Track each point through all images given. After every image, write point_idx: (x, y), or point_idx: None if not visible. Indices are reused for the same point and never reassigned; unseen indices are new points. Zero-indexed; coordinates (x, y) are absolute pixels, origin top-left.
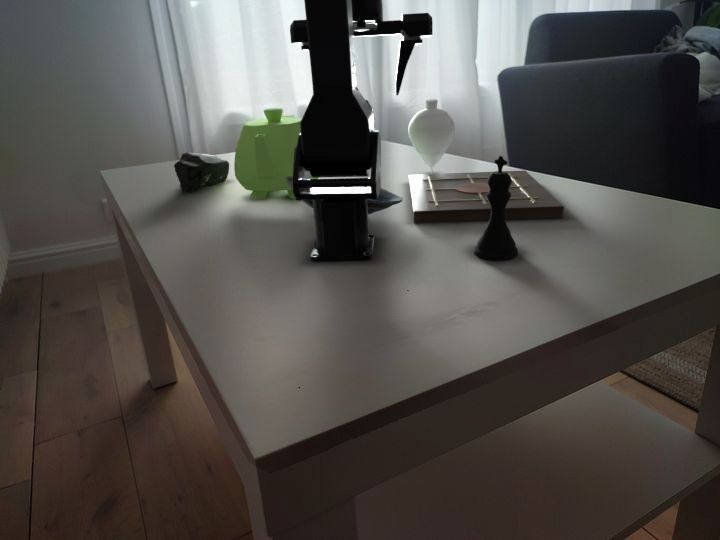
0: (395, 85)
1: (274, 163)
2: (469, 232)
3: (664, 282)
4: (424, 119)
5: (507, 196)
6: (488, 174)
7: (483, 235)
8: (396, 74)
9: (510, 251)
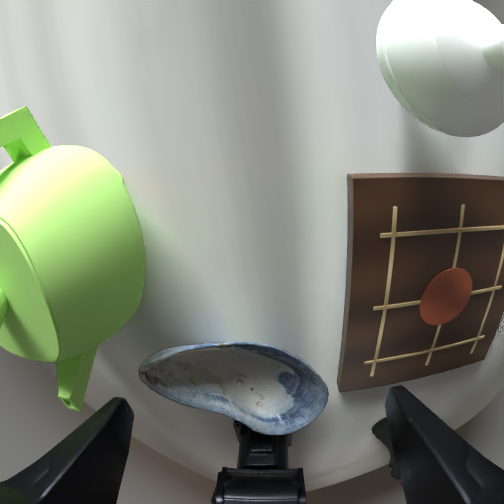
0: (394, 432)
1: (91, 350)
2: (386, 396)
3: None
4: (461, 110)
5: None
6: (489, 202)
7: (380, 439)
8: (409, 467)
9: None
